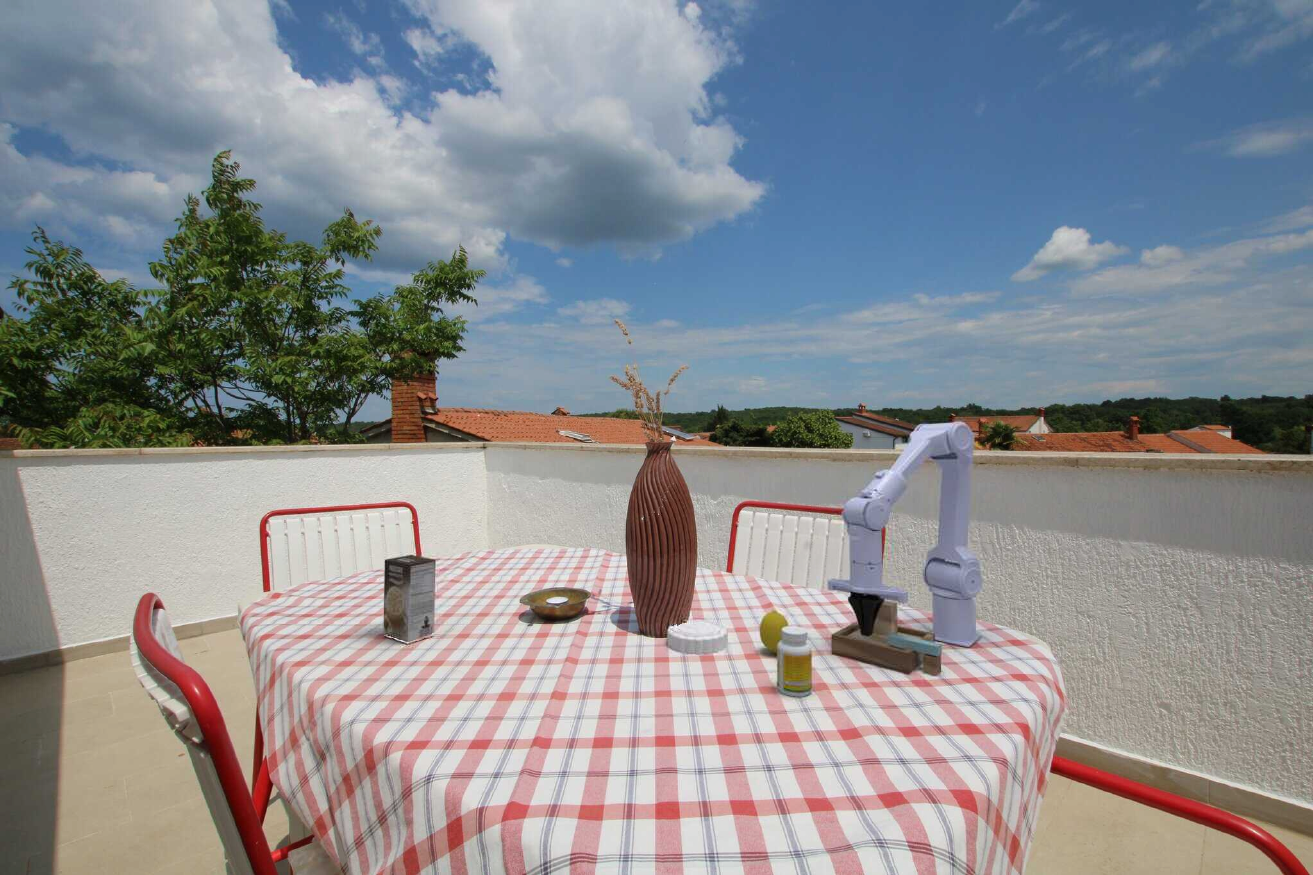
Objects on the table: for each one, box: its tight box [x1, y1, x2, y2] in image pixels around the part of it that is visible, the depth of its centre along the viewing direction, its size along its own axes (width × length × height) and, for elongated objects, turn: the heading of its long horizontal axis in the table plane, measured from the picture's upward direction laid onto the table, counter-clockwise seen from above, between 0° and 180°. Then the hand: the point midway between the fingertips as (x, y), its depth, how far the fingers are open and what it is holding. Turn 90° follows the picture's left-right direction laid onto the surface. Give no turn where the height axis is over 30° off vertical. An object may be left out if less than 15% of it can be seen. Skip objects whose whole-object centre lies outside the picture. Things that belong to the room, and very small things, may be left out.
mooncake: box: [666, 619, 729, 656], centre depth 109 cm, size 12×12×4 cm
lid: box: [847, 599, 923, 650], centre depth 103 cm, size 11×11×7 cm
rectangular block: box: [887, 633, 943, 656], centre depth 96 cm, size 2×8×2 cm, turn 46°
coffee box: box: [383, 554, 437, 642], centre depth 113 cm, size 9×6×16 cm
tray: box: [830, 620, 942, 677], centre depth 102 cm, size 14×18×4 cm
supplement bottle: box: [776, 625, 813, 698], centre depth 87 cm, size 5×5×10 cm
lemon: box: [759, 610, 790, 654], centre depth 103 cm, size 6×6×8 cm
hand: (866, 634), depth 102 cm, fingers closed
